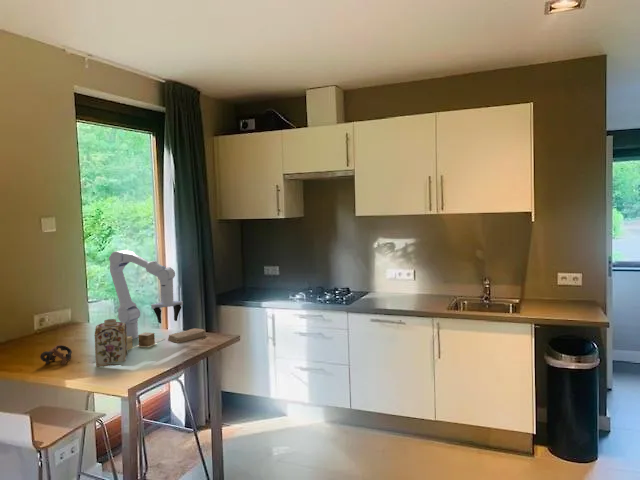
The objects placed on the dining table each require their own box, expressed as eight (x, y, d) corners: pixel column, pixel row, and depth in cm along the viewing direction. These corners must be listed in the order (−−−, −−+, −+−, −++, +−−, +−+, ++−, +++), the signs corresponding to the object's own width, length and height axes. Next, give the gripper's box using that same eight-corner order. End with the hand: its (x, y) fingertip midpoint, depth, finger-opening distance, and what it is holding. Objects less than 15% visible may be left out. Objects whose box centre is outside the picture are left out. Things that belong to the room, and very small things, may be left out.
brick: (177, 346, 240) (177, 336, 239) (167, 343, 245) (167, 334, 245) (206, 339, 252) (206, 330, 252) (196, 336, 258) (196, 327, 257)
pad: (143, 342, 243) (143, 341, 243) (153, 338, 250) (153, 337, 250) (156, 343, 241) (156, 342, 241) (165, 339, 248) (165, 338, 248)
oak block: (116, 349, 230) (115, 338, 230) (123, 346, 235) (123, 335, 235) (125, 350, 229) (124, 339, 229) (132, 347, 234) (132, 336, 233)
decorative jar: (95, 367, 210) (93, 324, 209) (99, 359, 221) (97, 317, 220) (126, 364, 213) (124, 321, 212) (128, 356, 225) (126, 315, 223)
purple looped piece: (59, 359, 224) (68, 343, 223) (69, 372, 219) (77, 356, 218) (32, 359, 214) (41, 342, 213) (42, 373, 209) (51, 356, 208)
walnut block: (138, 345, 236) (138, 335, 236) (145, 342, 241) (145, 332, 241) (148, 346, 235) (147, 335, 234) (154, 343, 239) (154, 332, 239)
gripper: (154, 296, 237) (155, 325, 238) (184, 293, 245) (185, 321, 246) (149, 294, 243) (150, 322, 244) (179, 291, 251) (180, 318, 252)
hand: (167, 321), depth 246 cm, fingers open, 7 cm apart
